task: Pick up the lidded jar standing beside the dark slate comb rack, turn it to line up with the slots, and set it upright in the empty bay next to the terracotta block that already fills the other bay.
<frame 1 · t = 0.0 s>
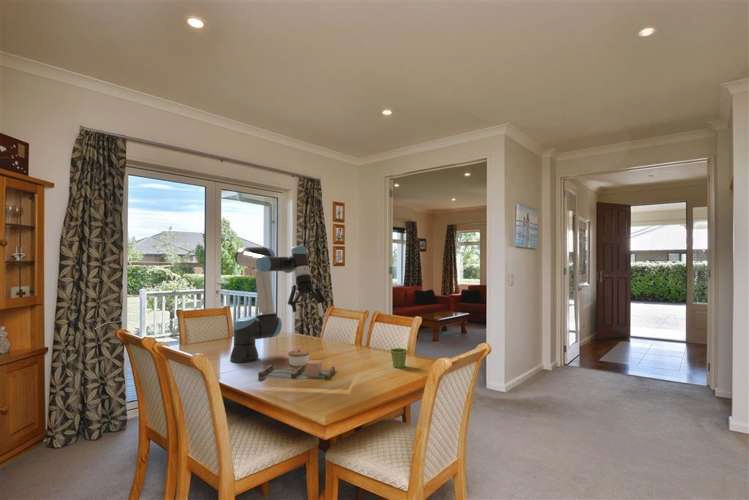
hand: (309, 317, 203), 28 cm above the table, tool tilted 20°, fingers open, 13 cm apart
plant pot: (398, 367, 216), on the table
terracotta block: (313, 374, 196), point 1 cm above the table, touching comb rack
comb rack: (297, 377, 197), on the table
lidded jar: (298, 367, 215), on the table
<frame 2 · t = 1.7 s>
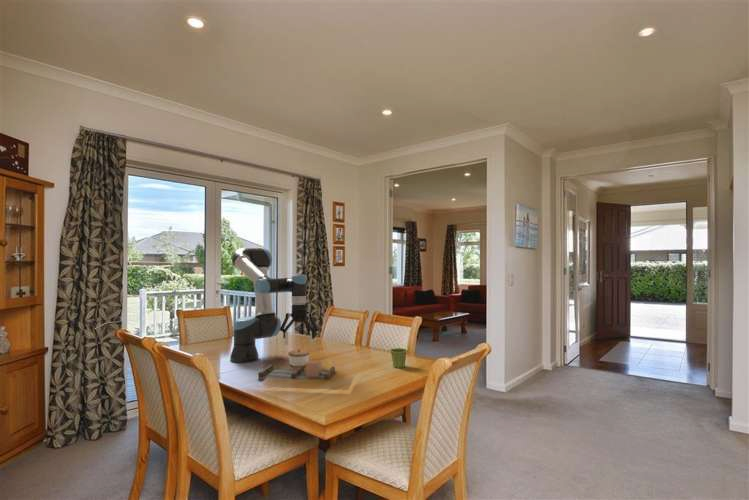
hand: (299, 344, 215), 12 cm above the table, tool pointing down, fingers open, 13 cm apart
nothing on the table moved.
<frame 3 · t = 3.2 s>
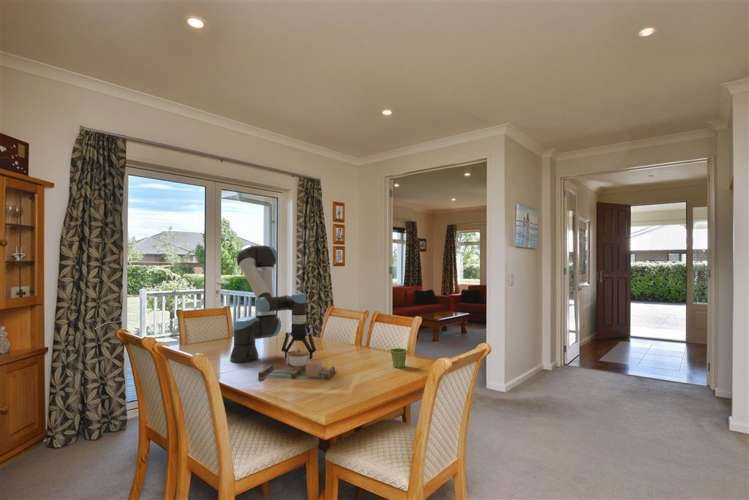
hand: (298, 365, 215), 1 cm above the table, tool pointing down, fingers closed on lidded jar, 11 cm apart
lidded jar: (298, 367, 215), on the table, touching gripper
everything else where it was.
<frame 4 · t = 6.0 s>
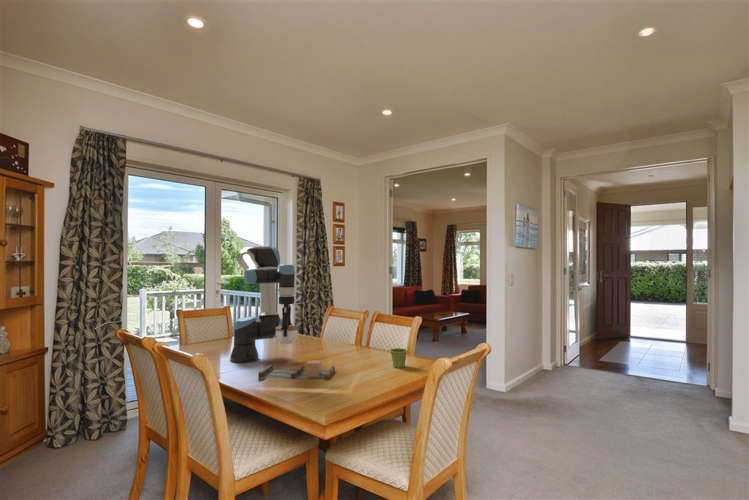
hand: (286, 340, 202), 16 cm above the table, tool pointing down, fingers closed on lidded jar, 11 cm apart
lidded jar: (286, 343, 202), point 15 cm above the table, touching gripper
everything else where it was.
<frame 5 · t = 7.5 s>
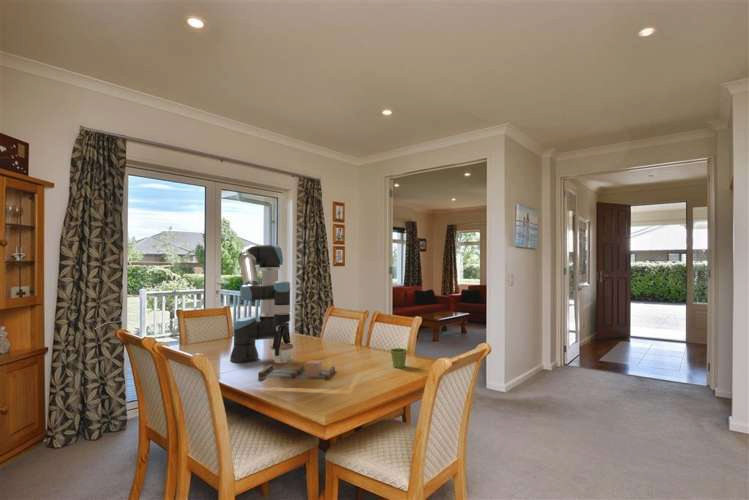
hand: (281, 359, 198), 8 cm above the table, tool pointing down, fingers closed on lidded jar, 11 cm apart
lidded jar: (281, 362, 198), point 7 cm above the table, touching gripper
everything else where it was.
when the fingers open (4 cm above the table, at t = 8.9 s): lidded jar drops 1 cm, resting on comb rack.
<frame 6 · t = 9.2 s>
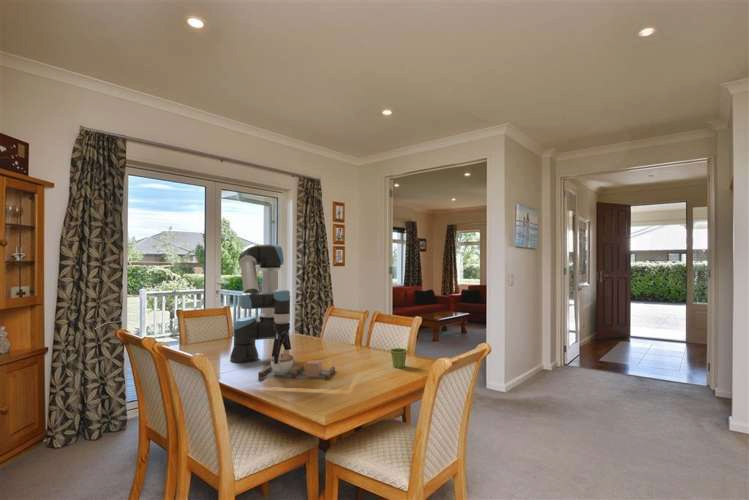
hand: (281, 366, 198), 5 cm above the table, tool pointing down, fingers open, 13 cm apart
lidded jar: (281, 373, 198), point 1 cm above the table, touching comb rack
everything else where it was.
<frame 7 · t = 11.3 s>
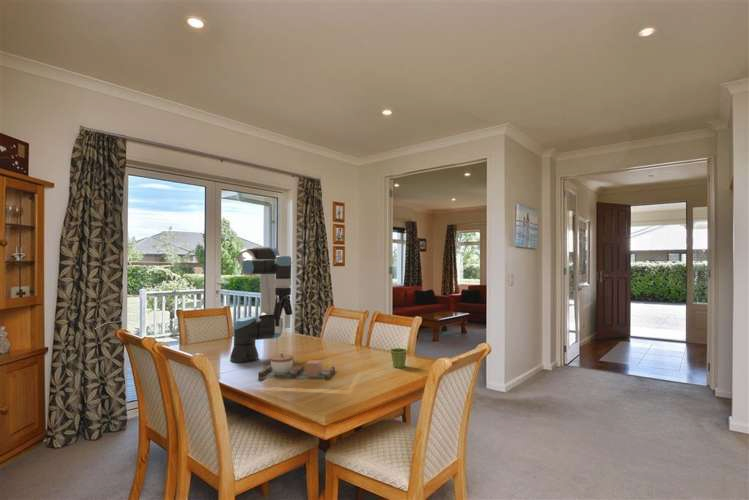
hand: (282, 330, 203), 21 cm above the table, tool pointing down, fingers open, 13 cm apart
nothing on the table moved.
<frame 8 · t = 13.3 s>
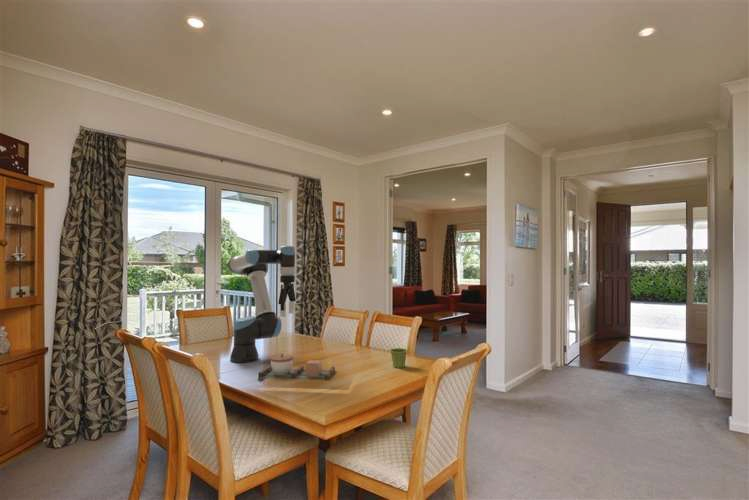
hand: (287, 315, 219), 27 cm above the table, tool pointing down, fingers open, 13 cm apart
nothing on the table moved.
at the end: lidded jar inside the target area on the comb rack (0.1 cm from its centre), point 1.3 cm above the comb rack's base; lidded jar tilted 0°; the gripper is holding nothing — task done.
